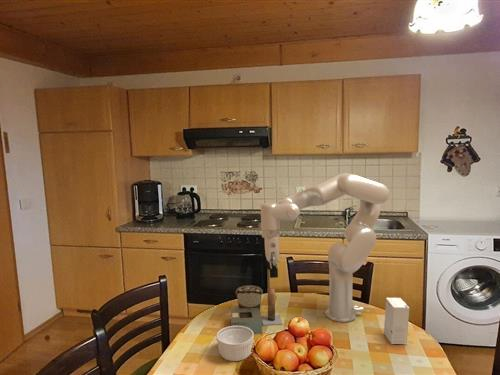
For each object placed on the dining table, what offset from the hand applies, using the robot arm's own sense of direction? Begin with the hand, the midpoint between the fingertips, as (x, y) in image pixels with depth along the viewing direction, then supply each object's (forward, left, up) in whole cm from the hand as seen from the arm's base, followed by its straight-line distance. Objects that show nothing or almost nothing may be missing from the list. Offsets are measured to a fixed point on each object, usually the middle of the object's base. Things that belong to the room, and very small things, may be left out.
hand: (272, 273), depth 148 cm
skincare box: (-44, +20, -21) cm, 52 cm away
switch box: (+11, +4, -21) cm, 24 cm away
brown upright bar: (0, 0, -20) cm, 20 cm away
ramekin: (+16, +22, -21) cm, 34 cm away
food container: (+8, -12, -21) cm, 25 cm away
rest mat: (0, 0, -21) cm, 21 cm away
